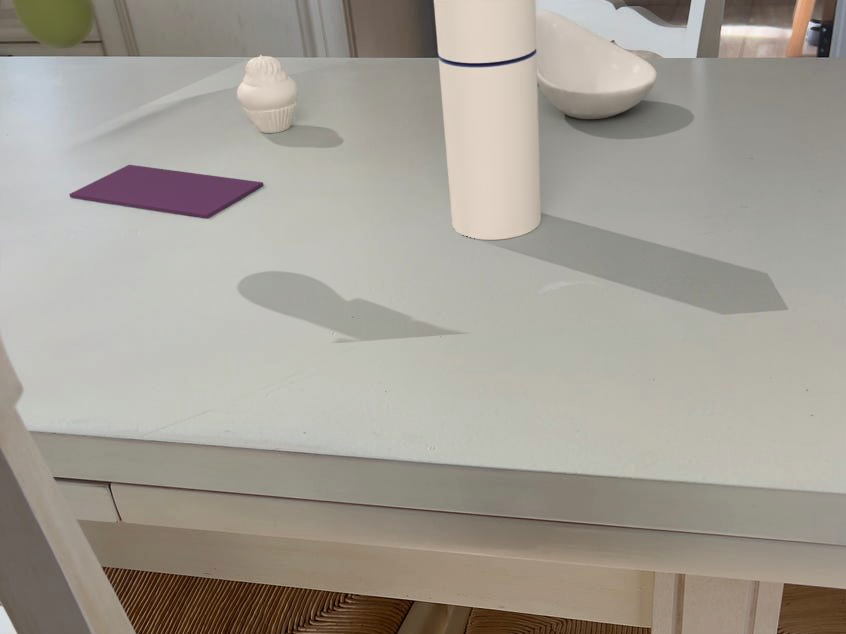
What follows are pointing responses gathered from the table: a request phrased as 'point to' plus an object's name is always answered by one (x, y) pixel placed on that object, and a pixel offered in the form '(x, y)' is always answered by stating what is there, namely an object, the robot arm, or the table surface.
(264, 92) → the muffin
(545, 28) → the spoon rest
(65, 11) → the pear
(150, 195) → the cloth
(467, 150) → the cylindrical container
